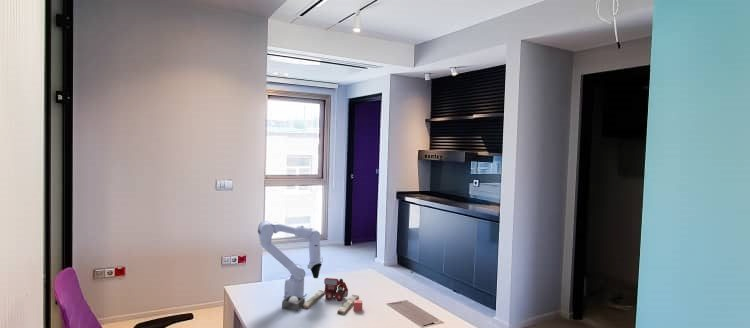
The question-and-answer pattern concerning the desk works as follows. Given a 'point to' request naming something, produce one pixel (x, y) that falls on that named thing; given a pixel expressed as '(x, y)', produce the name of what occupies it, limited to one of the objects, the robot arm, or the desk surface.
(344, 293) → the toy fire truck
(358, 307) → the red die
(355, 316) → the desk surface
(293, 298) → the dome button
